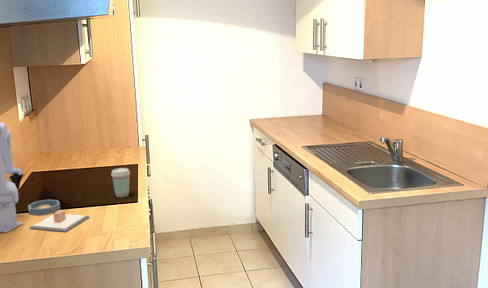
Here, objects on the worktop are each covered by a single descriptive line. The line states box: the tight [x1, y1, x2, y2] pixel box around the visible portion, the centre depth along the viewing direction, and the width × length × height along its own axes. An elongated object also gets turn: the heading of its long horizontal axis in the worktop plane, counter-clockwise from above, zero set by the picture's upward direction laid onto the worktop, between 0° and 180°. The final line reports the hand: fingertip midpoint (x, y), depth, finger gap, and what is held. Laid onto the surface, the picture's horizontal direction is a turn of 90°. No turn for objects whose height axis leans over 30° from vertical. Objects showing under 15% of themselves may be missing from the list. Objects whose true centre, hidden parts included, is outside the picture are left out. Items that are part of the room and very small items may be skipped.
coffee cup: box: [110, 167, 131, 198], centre depth 231 cm, size 8×8×12 cm
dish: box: [27, 199, 61, 216], centre depth 214 cm, size 12×12×2 cm
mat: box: [29, 215, 90, 233], centre depth 199 cm, size 16×16×1 cm
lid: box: [32, 209, 87, 230], centre depth 198 cm, size 14×14×4 cm
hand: (8, 190), depth 208 cm, fingers open, 7 cm apart
